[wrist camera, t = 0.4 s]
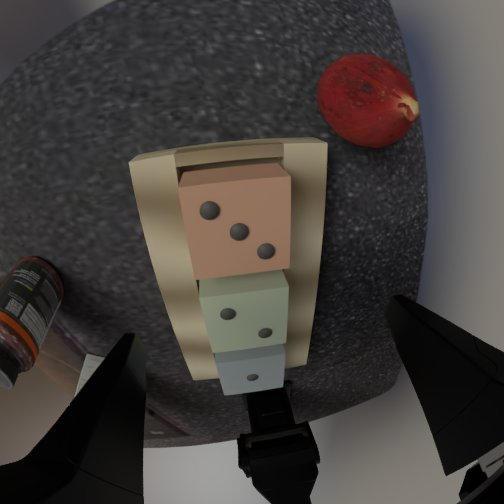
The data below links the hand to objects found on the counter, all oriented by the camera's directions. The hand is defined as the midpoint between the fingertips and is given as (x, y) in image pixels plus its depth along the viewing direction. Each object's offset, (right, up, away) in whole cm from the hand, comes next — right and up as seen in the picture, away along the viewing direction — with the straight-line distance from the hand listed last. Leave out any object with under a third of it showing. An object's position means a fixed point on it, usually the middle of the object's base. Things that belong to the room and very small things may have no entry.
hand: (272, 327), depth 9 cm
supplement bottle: (-21, 0, +11) cm, 23 cm away
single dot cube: (-1, -7, +16) cm, 17 cm away
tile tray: (-2, 0, +14) cm, 14 cm away
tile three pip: (-2, +5, +8) cm, 10 cm away
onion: (+5, +13, +8) cm, 16 cm away
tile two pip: (-1, -1, +12) cm, 12 cm away
